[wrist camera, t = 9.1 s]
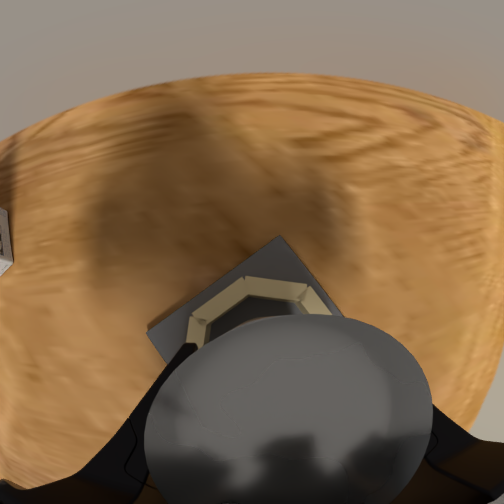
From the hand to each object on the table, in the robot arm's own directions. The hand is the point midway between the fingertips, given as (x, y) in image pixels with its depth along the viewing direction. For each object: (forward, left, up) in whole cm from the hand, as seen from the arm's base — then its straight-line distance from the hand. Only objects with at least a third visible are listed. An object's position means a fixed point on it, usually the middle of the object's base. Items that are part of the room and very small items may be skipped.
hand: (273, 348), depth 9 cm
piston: (-1, +1, -7) cm, 7 cm away
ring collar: (-1, +1, -8) cm, 9 cm away
